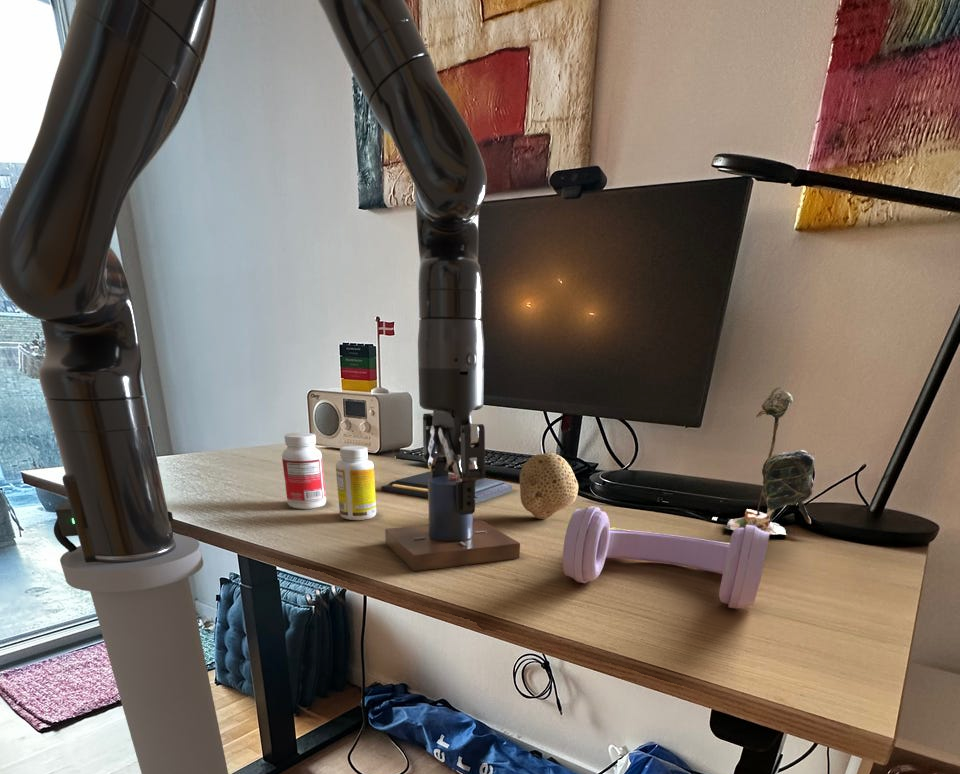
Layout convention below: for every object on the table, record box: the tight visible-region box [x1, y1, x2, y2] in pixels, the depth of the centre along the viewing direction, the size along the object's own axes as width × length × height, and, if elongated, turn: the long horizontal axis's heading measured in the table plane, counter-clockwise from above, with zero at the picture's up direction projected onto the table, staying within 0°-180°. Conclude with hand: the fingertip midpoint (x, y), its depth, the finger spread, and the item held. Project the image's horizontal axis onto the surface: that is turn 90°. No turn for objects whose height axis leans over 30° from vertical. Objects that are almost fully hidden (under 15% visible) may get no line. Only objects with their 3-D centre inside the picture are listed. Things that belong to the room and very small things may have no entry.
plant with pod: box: [724, 386, 815, 536], centre depth 85 cm, size 8×11×20 cm
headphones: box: [562, 506, 770, 609], centre depth 69 cm, size 20×10×20 cm
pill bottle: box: [281, 432, 327, 510], centre depth 96 cm, size 6×6×11 cm
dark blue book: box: [380, 470, 513, 505], centre depth 110 cm, size 20×2×15 cm
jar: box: [427, 476, 474, 542], centre depth 76 cm, size 6×6×7 cm
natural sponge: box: [519, 452, 579, 520], centre depth 92 cm, size 9×9×10 cm
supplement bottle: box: [335, 445, 377, 521], centre depth 90 cm, size 6×6×10 cm
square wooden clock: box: [384, 519, 521, 572], centre depth 78 cm, size 14×12×2 cm
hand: (452, 505), depth 76 cm, fingers open, 8 cm apart
